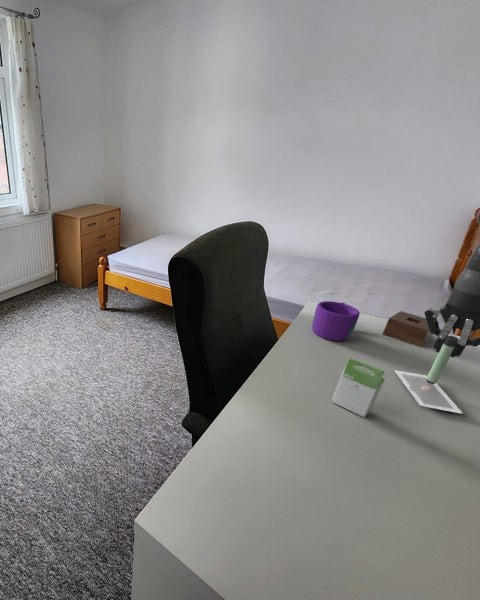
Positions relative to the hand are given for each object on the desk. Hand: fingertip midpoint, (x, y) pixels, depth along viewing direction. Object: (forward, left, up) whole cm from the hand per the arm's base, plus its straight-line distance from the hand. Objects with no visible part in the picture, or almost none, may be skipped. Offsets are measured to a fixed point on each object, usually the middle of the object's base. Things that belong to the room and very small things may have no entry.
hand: (445, 353), depth 84 cm
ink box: (+24, -8, -11) cm, 27 cm away
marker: (0, 0, -9) cm, 9 cm away
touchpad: (+3, 0, -11) cm, 12 cm away
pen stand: (-29, -13, -11) cm, 34 cm away
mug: (-12, -28, -11) cm, 33 cm away
